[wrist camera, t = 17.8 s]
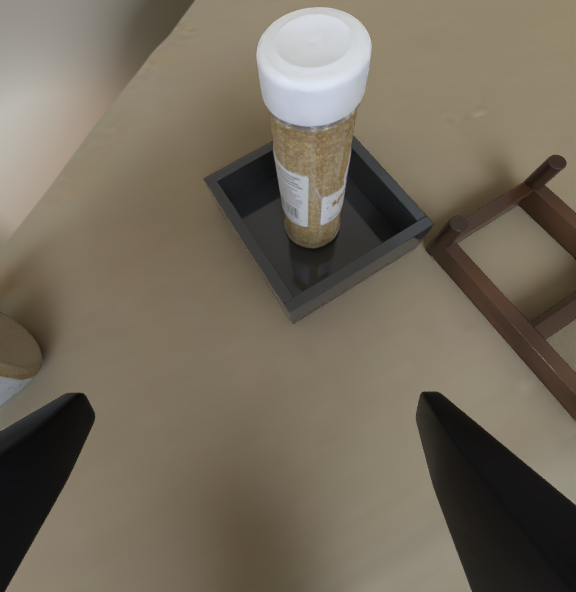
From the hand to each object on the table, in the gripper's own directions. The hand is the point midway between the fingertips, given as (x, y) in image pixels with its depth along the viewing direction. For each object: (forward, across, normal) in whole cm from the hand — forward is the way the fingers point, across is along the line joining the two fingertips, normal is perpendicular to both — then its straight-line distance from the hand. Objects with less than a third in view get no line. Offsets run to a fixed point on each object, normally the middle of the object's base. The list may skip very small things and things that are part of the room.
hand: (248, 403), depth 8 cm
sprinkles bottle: (+19, -2, 0) cm, 19 cm away
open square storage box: (+19, -2, 0) cm, 19 cm away
